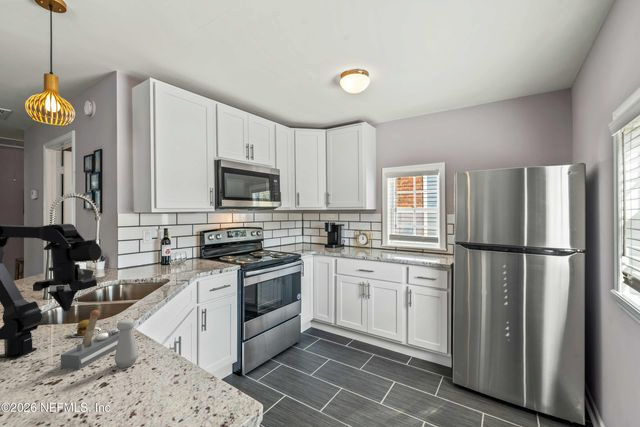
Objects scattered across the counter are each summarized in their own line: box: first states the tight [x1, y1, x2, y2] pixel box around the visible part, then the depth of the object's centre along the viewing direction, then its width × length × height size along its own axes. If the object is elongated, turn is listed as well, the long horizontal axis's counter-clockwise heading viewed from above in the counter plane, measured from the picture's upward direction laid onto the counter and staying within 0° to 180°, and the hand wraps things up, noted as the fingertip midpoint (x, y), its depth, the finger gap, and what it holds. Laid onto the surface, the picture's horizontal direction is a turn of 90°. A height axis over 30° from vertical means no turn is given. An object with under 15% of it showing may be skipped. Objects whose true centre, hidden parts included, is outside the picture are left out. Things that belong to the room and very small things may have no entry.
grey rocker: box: [106, 327, 120, 333], centre depth 102 cm, size 3×2×1 cm, turn 82°
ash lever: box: [81, 309, 101, 347], centre depth 92 cm, size 2×2×11 cm
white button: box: [95, 332, 108, 340], centre depth 98 cm, size 3×3×1 cm
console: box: [60, 330, 120, 371], centre depth 96 cm, size 6×18×6 cm, turn 172°
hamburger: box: [70, 319, 102, 338], centre depth 114 cm, size 12×12×6 cm
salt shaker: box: [113, 318, 139, 369], centre depth 89 cm, size 6×6×13 cm
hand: (67, 310), depth 98 cm, fingers closed
